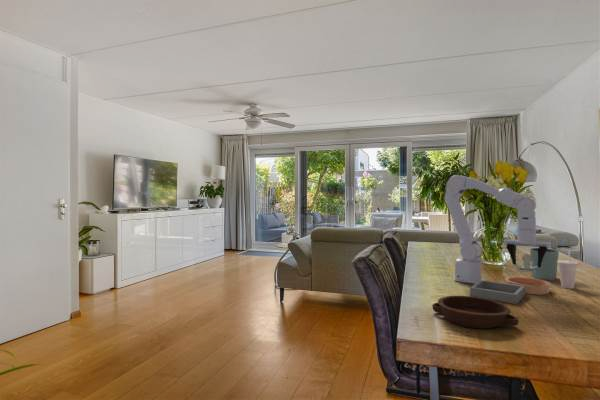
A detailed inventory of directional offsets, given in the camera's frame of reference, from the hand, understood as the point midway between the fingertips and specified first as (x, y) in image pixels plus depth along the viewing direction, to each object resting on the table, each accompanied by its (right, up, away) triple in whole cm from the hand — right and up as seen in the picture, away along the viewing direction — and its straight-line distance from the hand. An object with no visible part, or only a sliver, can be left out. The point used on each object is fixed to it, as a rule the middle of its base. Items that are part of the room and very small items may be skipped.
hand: (526, 265), depth 128 cm
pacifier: (-1, -2, 0) cm, 2 cm away
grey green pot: (+19, -9, +18) cm, 28 cm away
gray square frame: (-15, -9, -8) cm, 19 cm away
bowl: (0, -9, 0) cm, 9 cm away
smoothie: (+17, -9, +2) cm, 19 cm away
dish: (-36, -10, -32) cm, 49 cm away
